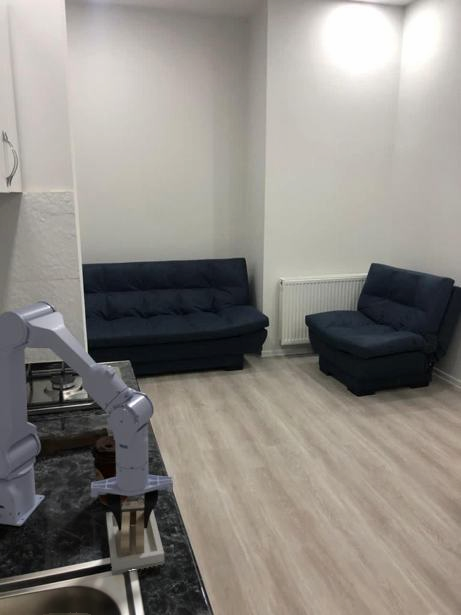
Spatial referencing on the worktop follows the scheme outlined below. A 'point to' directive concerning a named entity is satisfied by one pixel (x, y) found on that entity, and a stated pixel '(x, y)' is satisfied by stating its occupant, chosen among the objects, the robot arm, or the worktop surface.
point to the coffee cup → (105, 462)
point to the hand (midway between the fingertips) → (133, 525)
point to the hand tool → (70, 441)
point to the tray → (134, 546)
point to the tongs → (132, 516)
